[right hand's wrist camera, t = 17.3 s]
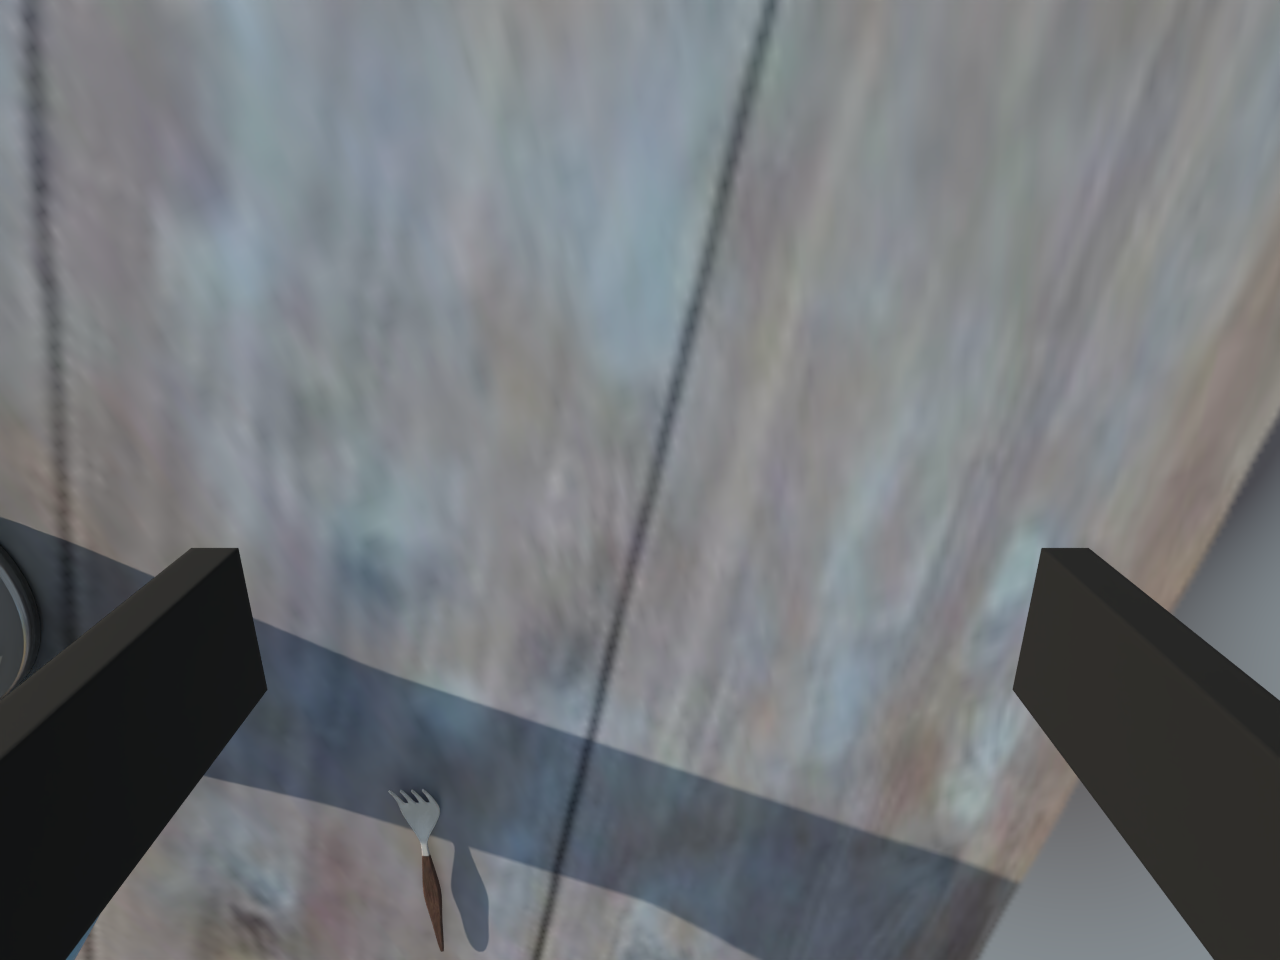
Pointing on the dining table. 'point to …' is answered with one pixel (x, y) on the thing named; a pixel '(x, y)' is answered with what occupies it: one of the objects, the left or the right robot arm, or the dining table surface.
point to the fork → (425, 852)
